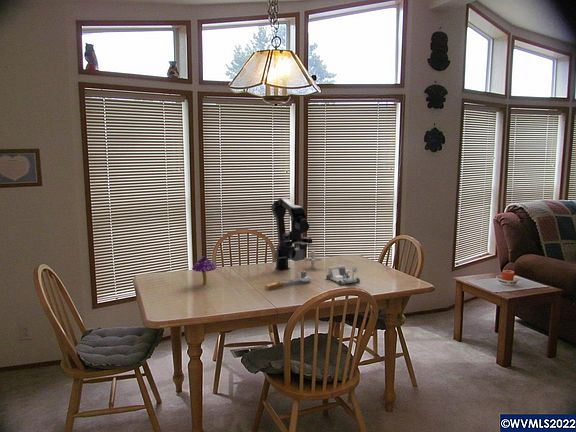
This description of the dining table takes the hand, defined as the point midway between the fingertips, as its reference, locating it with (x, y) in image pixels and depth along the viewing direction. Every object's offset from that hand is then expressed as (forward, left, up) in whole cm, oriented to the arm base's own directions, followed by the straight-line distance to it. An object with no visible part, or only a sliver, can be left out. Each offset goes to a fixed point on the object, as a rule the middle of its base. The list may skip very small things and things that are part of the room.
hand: (296, 257), depth 250 cm
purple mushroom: (+47, -19, -11) cm, 52 cm away
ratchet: (+13, +9, -11) cm, 20 cm away
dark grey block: (0, 0, -1) cm, 1 cm away
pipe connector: (-21, -11, -11) cm, 26 cm away
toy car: (-14, +23, -12) cm, 29 cm away
